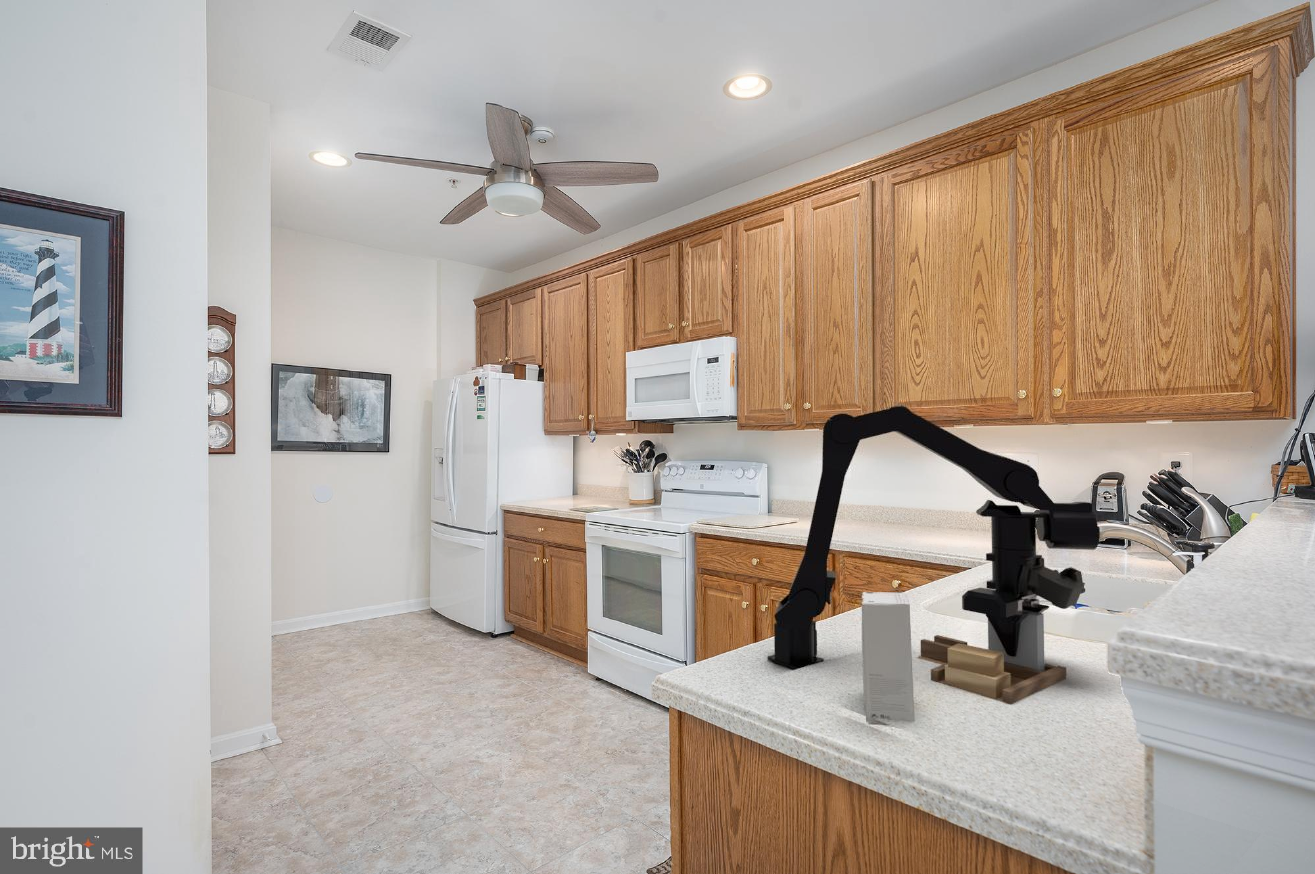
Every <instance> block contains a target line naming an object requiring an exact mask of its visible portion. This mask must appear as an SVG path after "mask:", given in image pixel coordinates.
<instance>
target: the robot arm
mask: <svg viewBox="0 0 1315 874" xmlns="http://www.w3.org/2000/svg"><path fill="white" fill-rule="evenodd" d="M889 433H897V434H899V435H901V436H902V437H904V438H906V439H908V440H910V441H912V442H913V443H914V444H917V445H918V446H921V448H924V449H926V450H928V451H929V452H931V453H933V454H935V455H937V457H940V458H942V459H944V460H946V461H948V462H949V463H951V464H953V465H954V466H957V467H959V468H960V469H962V470H963V471H964V472H966V473H967V474H968V475H969V476H971V477H972V479H974V480H975V481H976V482H977V483H978V484H980V485H981V486H983V487H984V488H985V489H986V491H988V492H990V493H991V494H992V495H993V496H995V497H997V498H999V499H1001V500H1005V501H1007V502H1012V503H1019V504H1021V505H1023V506H1025V507H1027V508H1028V507H1029V508H1032V509H1036V510H1039V512H1037V511H1036V512H1035V511H1034V512H1033V511H1032V512H1031V511H1021V508H1020V506H1019V505H1015V504H1014V505H1013V504H1012V505H1011V504H1009V505H1007V504H996V503H995V501H993V500H991V499H987V500H986V501H985V502H984V504H983V505H982V506H981V507H979V508H978V509H977V510H976V511H975V513H976V514H977V515H978V516H980V517H985V518H988V517H989V518H990V519H991V520H990V521H991V523H990V524H991V552H988V553H985V560H986V561H989V562H991V567H992V568H991V570H992V571H991V573H992V575H991V576H992V578H991V580H986V587H977V588H973V589H969V590H967V591H966V592H965V593H963V594H962V595H961V601H962V602H961V605H962V606H961V609H962V610H963V611H968V612H971V613H978V614H982V615H985V617H986V618H987V621H988V620H989V621H990V623H991V625H992V626H993V628H994V630H995V632H996V634H997V636H998V638H999V640H1000V642H1001V643H1002V645H1003V647H1004V649H1005V651H1006V653H1007V655H1009V656H1012V657H1015V656H1016V653H1017V648H1018V640H1019V631H1020V623H1021V621H1022V620H1023V619H1025V618H1026V617H1027V616H1028V615H1029V614H1030V612H1025V611H1022V610H1026V611H1032V612H1037V613H1044V612H1045V611H1047V610H1049V608H1050V605H1047V604H1041V603H1040V599H1039V598H1037V597H1040V598H1042V599H1044V600H1046V601H1048V602H1049V603H1051V604H1052V606H1055V607H1057V608H1059V609H1061V610H1062V609H1063V610H1066V609H1068V608H1070V607H1072V606H1073V607H1075V606H1077V603H1078V600H1079V598H1080V596H1081V594H1084V593H1085V592H1086V588H1085V585H1086V583H1085V582H1084V581H1083V575H1082V574H1083V573H1082V571H1081V570H1079V569H1077V568H1074V567H1072V566H1070V567H1066V568H1065V569H1063V570H1062V571H1060V572H1059V570H1058V569H1054V570H1053V569H1051V568H1049V567H1047V566H1045V558H1044V557H1043V555H1042V554H1037V538H1038V540H1039V541H1040V542H1045V544H1046V547H1047V548H1048V549H1053V550H1085V551H1087V550H1088V551H1091V550H1092V551H1094V550H1096V549H1097V548H1098V546H1099V543H1100V538H1101V537H1100V534H1101V529H1100V526H1098V520H1097V517H1096V515H1095V513H1094V511H1093V504H1092V502H1088V501H1073V502H1053V500H1052V499H1051V498H1050V497H1049V495H1048V494H1047V493H1046V492H1045V491H1044V490H1043V488H1042V487H1041V486H1040V479H1039V476H1038V472H1037V471H1036V469H1034V468H1033V467H1032V466H1031V465H1029V464H1026V463H1023V462H1022V461H1021V462H1020V461H1018V460H1014V459H1013V458H1009V457H1006V456H1003V455H1000V454H997V453H993V452H990V451H987V450H984V449H981V448H979V447H977V446H976V445H974V444H971V443H970V442H968V441H966V440H964V439H962V438H960V437H958V436H957V435H955V434H953V433H951V432H950V431H948V430H946V429H944V428H942V427H940V426H938V425H937V424H935V423H933V422H931V421H929V420H927V419H926V418H924V417H922V416H920V415H917V414H916V413H915V412H913V411H912V410H911V409H909V408H908V407H907V406H905V405H901V404H896V405H892V406H891V407H889V408H886V409H882V410H877V411H874V412H869V413H864V414H860V415H857V416H853V415H851V414H848V413H837V414H834V415H832V416H830V417H829V418H828V419H827V420H826V421H825V423H824V426H823V429H822V465H821V474H820V480H819V485H818V490H817V493H816V499H815V503H814V507H813V508H814V509H813V514H812V518H811V522H810V527H809V533H808V537H807V541H806V547H805V551H804V554H803V556H802V559H801V561H800V564H799V566H798V569H797V570H796V573H795V575H794V578H793V581H792V583H791V585H790V588H789V592H788V594H787V595H785V596H784V597H783V599H781V600H780V601H779V602H778V605H777V607H776V610H775V613H774V615H773V616H774V620H775V622H774V625H773V630H774V631H773V632H774V635H773V636H774V637H773V638H774V640H773V641H774V654H771V655H768V656H767V661H770V662H772V663H776V664H779V665H782V666H784V667H787V668H790V669H792V670H794V671H795V670H799V669H802V668H806V667H809V666H813V665H816V664H819V663H824V662H825V658H822V657H819V656H818V630H817V629H816V628H817V627H816V626H817V623H816V620H814V618H816V617H818V616H821V614H822V613H823V612H824V610H825V608H826V605H827V604H828V605H831V603H832V593H831V592H832V589H833V588H834V587H833V586H834V584H835V582H836V571H835V570H834V571H833V570H828V558H829V553H830V549H831V543H832V539H833V536H834V535H833V534H834V530H835V525H836V520H837V515H838V510H839V507H840V506H839V505H840V502H841V496H842V492H843V487H844V483H845V477H846V475H847V473H848V470H849V467H850V465H851V463H852V461H853V458H854V455H855V453H856V451H857V449H858V446H859V443H860V441H861V440H862V441H863V440H865V439H868V438H873V437H877V436H881V435H885V434H889Z"/></svg>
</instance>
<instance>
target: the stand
mask: <svg viewBox="0 0 1315 874" xmlns="http://www.w3.org/2000/svg"><path fill="white" fill-rule="evenodd" d="M958 643H959V644H964V645H968V642H967V641H964V640H961V639H960V640H959V639H957V638H953V637H947V636H943V635H939V634H936V635H934V636H933V640H930V639H926V638H922V639H920V655H919V656H917V657H916V658H917V659H920V660H923V661H928V662H930V663H934V664H938V665H940V666H941V665H944V664H947V663H948V648H950V647H952V646H954V645H956V644H958Z"/></svg>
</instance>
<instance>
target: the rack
mask: <svg viewBox="0 0 1315 874" xmlns="http://www.w3.org/2000/svg"><path fill="white" fill-rule="evenodd" d="M945 665H948V663H947V664H944V665H941V664H940V665H938V666H936V667H933V668H931V669H930V681H933V682H935V683H939V684H943V685H946V686H949V687H952V688H955V689H959V690H961V691H965V692H969V693H972V694H975V695H979V696H981V697H984V698H988V699H992V700H995V701H998V702H1001V703H1005V704H1008V705H1012V704H1015V703H1017V702H1019V701H1021V700H1023V699H1026V698H1027V697H1030V696H1032V695H1034V694H1035V693H1038V692H1040V691H1043V690H1045V689H1047V688H1049V687H1051V686H1053V685H1055V684H1057V683H1060V682H1062V681H1064V680H1066V679H1067V667H1066V666H1062V665H1052V664H1048V663H1045V672H1043V671H1039V670H1035V669H1031V668H1027V667H1023V666H1019V665H1016V664H1012V663H1008V662H1004V672H1007V673H1010V674H1011V686H1010V687H1008V688H1006V689H1003V690H1002V691H1003V696H1001V697H999V698H997V699H994V698H991V697H988V696H984V695H981V694H978V693H975V692H971V691H968V690H965V689H961V688H958V687H955V686H951V685H948V684H945Z"/></svg>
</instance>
